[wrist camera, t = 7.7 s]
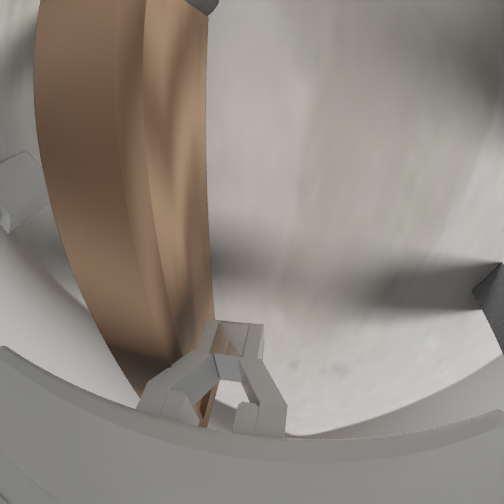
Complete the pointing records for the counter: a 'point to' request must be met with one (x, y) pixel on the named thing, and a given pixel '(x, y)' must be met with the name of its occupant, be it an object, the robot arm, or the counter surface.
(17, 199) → the lighter
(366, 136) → the counter surface
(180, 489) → the robot arm
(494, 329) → the post
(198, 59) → the gate
